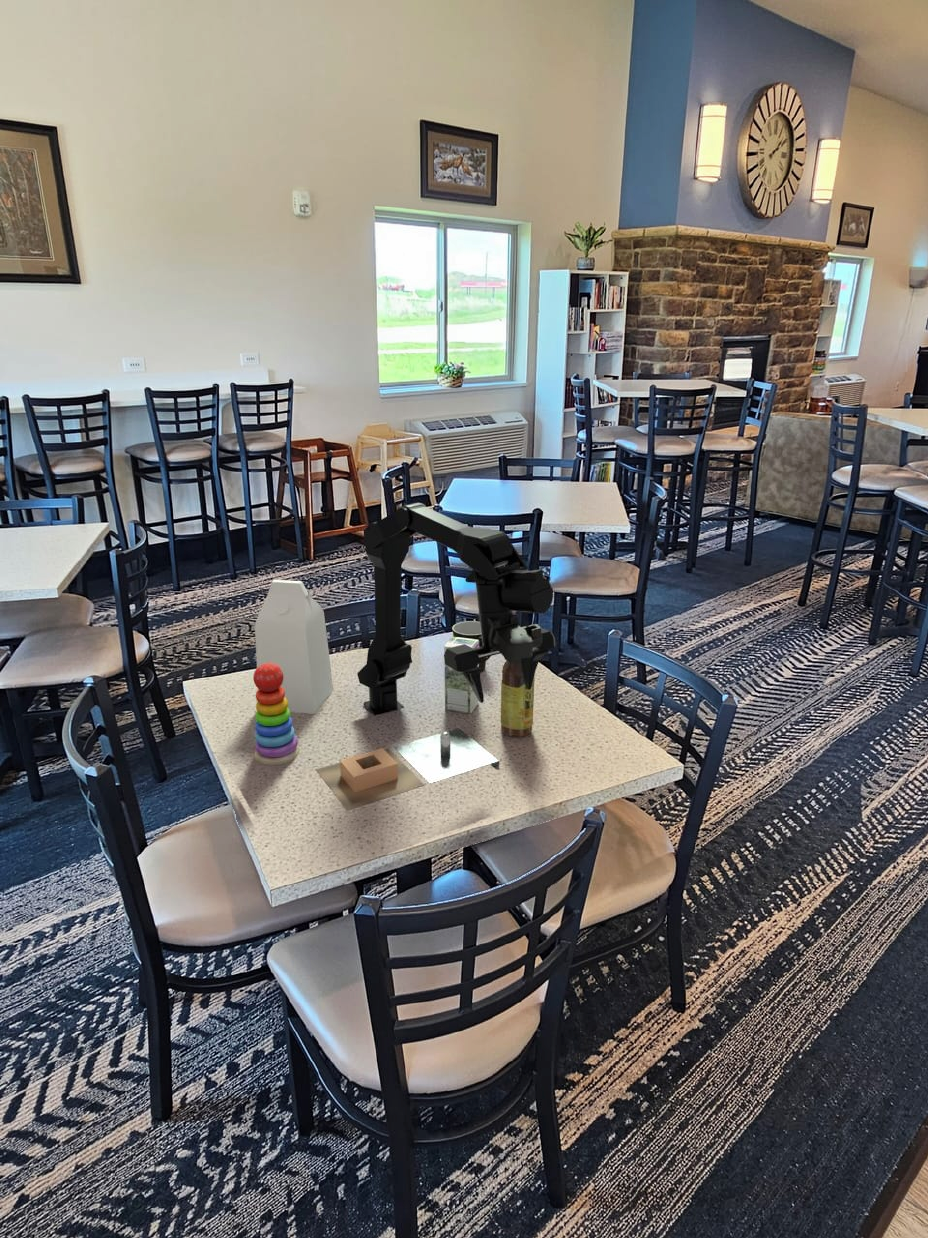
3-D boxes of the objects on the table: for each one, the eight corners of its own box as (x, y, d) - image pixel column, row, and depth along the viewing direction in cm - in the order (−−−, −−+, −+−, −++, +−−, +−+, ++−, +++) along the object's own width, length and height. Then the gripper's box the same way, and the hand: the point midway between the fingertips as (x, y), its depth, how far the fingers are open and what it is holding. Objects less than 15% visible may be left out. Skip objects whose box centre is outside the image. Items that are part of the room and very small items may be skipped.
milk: (333, 689, 164) (325, 574, 154) (314, 714, 153) (304, 592, 144) (281, 685, 165) (270, 571, 156) (258, 709, 155) (245, 588, 146)
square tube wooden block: (340, 775, 130) (339, 760, 129) (383, 762, 133) (382, 748, 132) (354, 792, 125) (353, 777, 124) (398, 778, 129) (397, 763, 128)
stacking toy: (251, 751, 139) (241, 658, 132) (295, 743, 142) (286, 651, 135) (258, 773, 132) (247, 676, 126) (304, 763, 135) (295, 668, 129)
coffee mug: (450, 661, 177) (450, 621, 174) (487, 660, 178) (487, 620, 175) (455, 682, 166) (455, 641, 163) (494, 681, 167) (495, 639, 164)
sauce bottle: (530, 740, 143) (534, 643, 136) (497, 737, 144) (499, 640, 137) (534, 724, 149) (538, 630, 142) (503, 721, 150) (505, 627, 143)
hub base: (393, 751, 139) (392, 725, 137) (459, 732, 146) (459, 707, 144) (430, 788, 128) (429, 760, 126) (499, 765, 134) (499, 739, 133)
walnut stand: (316, 774, 132) (314, 752, 130) (388, 753, 138) (387, 731, 137) (347, 815, 120) (345, 791, 119) (424, 790, 127) (424, 767, 126)
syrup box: (479, 702, 158) (480, 638, 152) (470, 715, 152) (470, 649, 147) (453, 698, 159) (453, 634, 154) (444, 711, 154) (443, 645, 149)
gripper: (465, 629, 116) (477, 723, 119) (568, 604, 123) (576, 694, 127) (437, 616, 125) (449, 704, 129) (534, 594, 133) (542, 678, 136)
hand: (505, 695), depth 130 cm, fingers open, 9 cm apart
